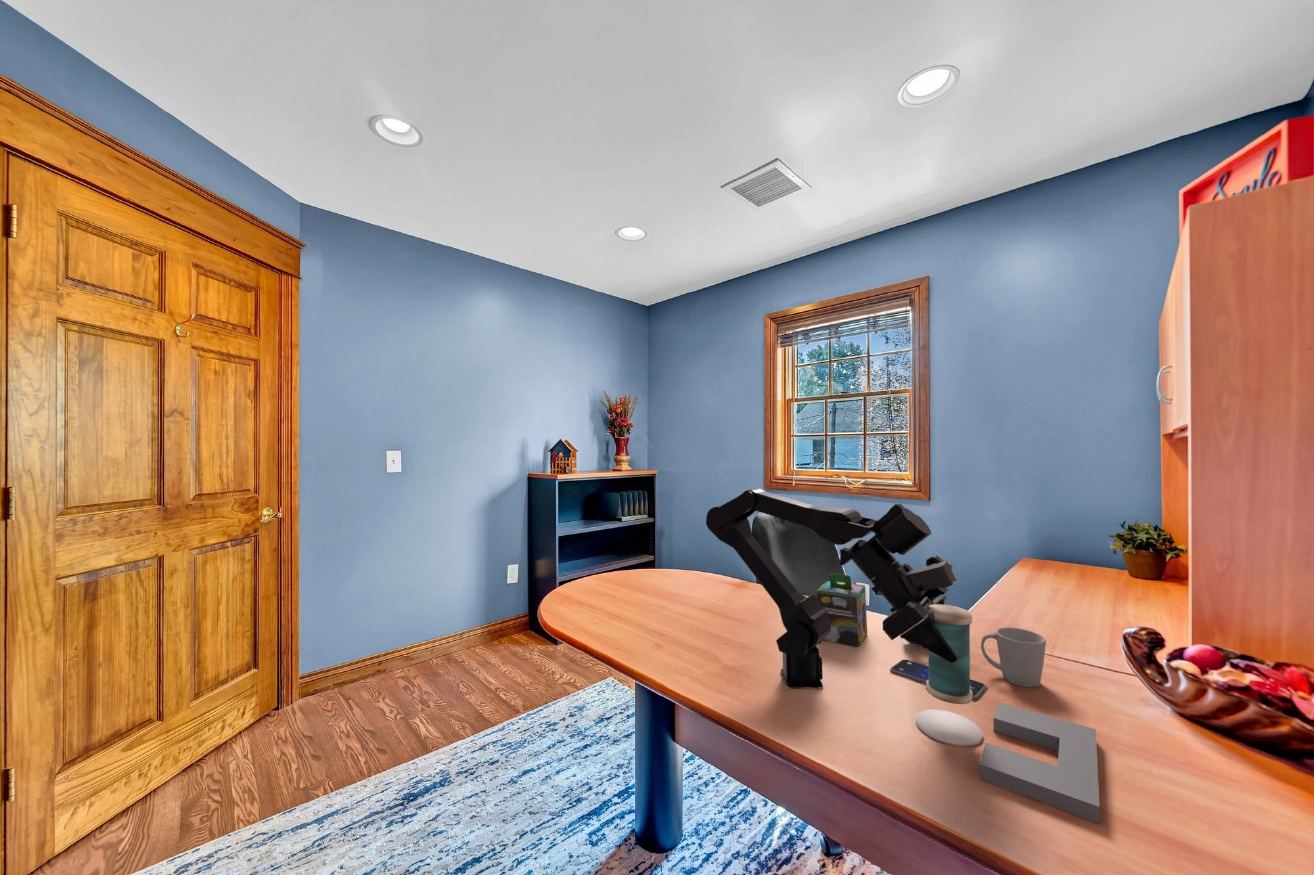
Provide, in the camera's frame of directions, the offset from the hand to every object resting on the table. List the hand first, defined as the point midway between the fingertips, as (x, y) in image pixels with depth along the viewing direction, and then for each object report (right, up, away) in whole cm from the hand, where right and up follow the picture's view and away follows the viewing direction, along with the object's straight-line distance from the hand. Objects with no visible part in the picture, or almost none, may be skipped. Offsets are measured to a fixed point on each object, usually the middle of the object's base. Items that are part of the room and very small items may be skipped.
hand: (958, 654), depth 76 cm
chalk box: (-4, -13, +37) cm, 39 cm away
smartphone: (+6, -13, +17) cm, 22 cm away
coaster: (-1, -12, +1) cm, 12 cm away
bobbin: (-1, -7, +1) cm, 7 cm away
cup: (+21, -12, +16) cm, 29 cm away
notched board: (+8, -12, -7) cm, 16 cm away
